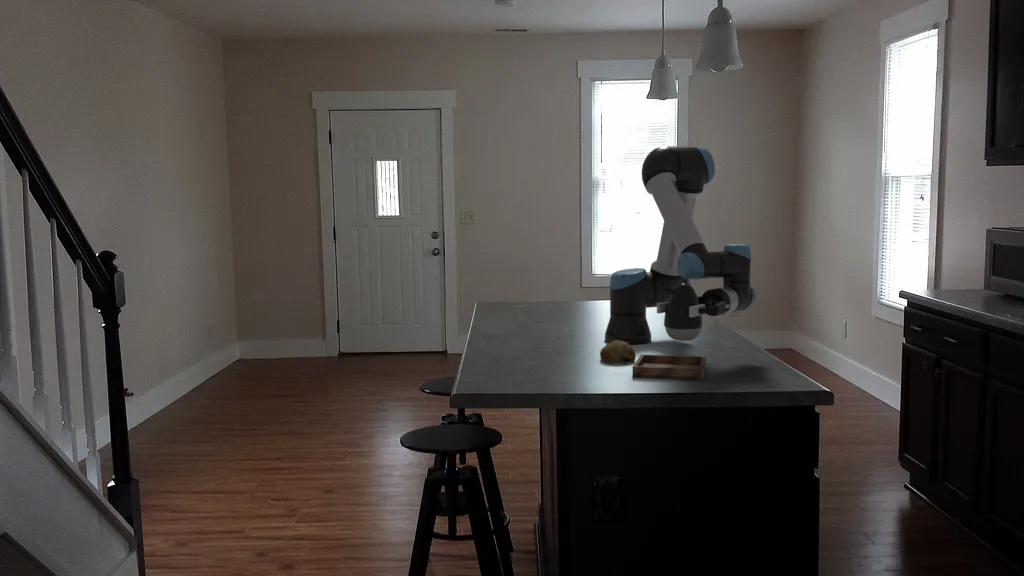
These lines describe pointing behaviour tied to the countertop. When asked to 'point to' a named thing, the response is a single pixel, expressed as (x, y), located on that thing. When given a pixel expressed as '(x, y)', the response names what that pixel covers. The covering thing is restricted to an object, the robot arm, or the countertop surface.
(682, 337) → the pump dispenser
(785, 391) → the countertop surface
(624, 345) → the bread roll
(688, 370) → the walnut tray
